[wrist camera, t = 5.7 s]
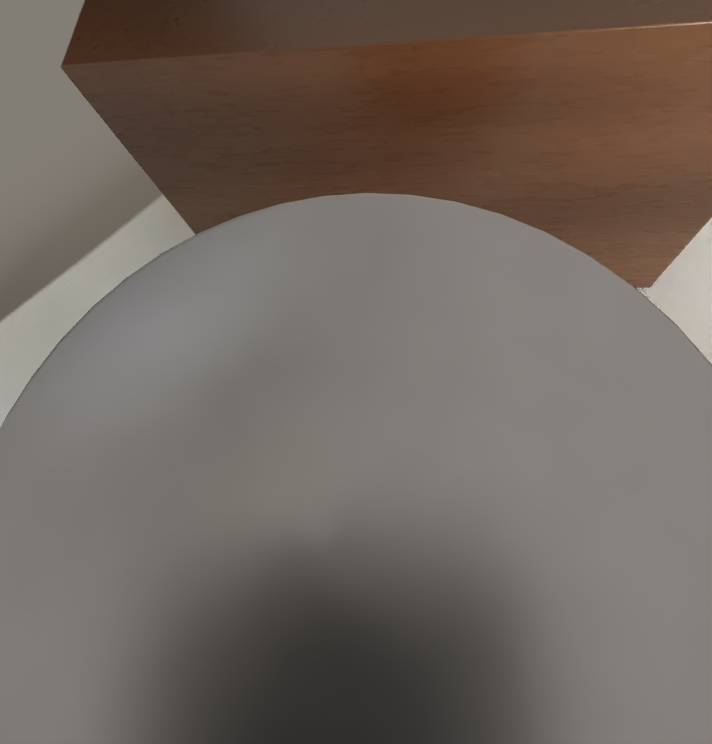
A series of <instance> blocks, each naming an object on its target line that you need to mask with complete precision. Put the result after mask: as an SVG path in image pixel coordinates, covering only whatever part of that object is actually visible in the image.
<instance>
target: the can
mask: <svg viewBox="0 0 712 744" xmlns="http://www.w3.org/2000/svg"><path fill="white" fill-rule="evenodd" d="M0 744H712V365H711V363H710V362H709V361H708V360H707V359H706V358H705V357H704V356H703V354H702V353H701V352H700V351H699V350H698V349H697V348H696V346H695V345H694V344H693V343H692V342H691V341H690V340H689V339H688V337H687V336H686V335H685V334H684V333H683V332H682V331H681V329H680V328H679V327H678V326H677V325H676V324H675V323H674V322H673V321H672V320H671V319H670V318H669V317H667V316H666V315H665V314H664V313H663V312H662V311H661V310H660V309H658V308H657V307H656V306H655V305H654V304H653V303H652V302H651V301H650V300H648V299H647V298H646V297H645V296H644V295H643V294H642V293H641V292H639V291H638V290H637V289H636V288H635V287H634V286H632V285H631V284H630V283H628V282H627V281H625V280H624V279H622V278H621V277H620V276H618V275H617V274H615V273H614V272H613V271H611V270H610V269H608V268H607V267H605V266H604V265H603V264H601V263H600V262H598V261H597V260H595V259H594V258H593V257H591V256H590V255H588V254H586V253H584V252H582V251H580V250H578V249H577V248H575V247H573V246H571V245H569V244H567V243H566V242H564V241H562V240H560V239H558V238H556V237H554V236H553V235H551V234H549V233H547V232H545V231H542V230H540V229H537V228H535V227H532V226H530V225H527V224H525V223H522V222H520V221H517V220H515V219H512V218H510V217H507V216H505V215H502V214H500V213H496V212H492V211H488V210H485V209H481V208H477V207H474V206H470V205H466V204H463V203H459V202H455V201H449V200H442V199H436V198H429V197H423V196H416V195H407V194H381V193H358V194H344V195H330V196H320V197H315V198H309V199H304V200H299V201H293V202H288V203H282V204H278V205H275V206H272V207H268V208H265V209H261V210H258V211H255V212H251V213H248V214H245V215H241V216H238V217H236V218H234V219H231V220H229V221H226V222H224V223H222V224H219V225H217V226H214V227H212V228H210V229H207V230H205V231H203V232H200V233H198V234H196V235H195V236H193V237H191V238H189V239H187V240H185V241H184V242H182V243H180V244H178V245H176V246H175V247H173V248H171V249H169V250H167V251H165V252H164V253H162V254H160V255H159V256H157V257H156V258H155V259H153V260H152V261H150V262H149V263H147V264H146V265H144V266H143V267H142V268H140V269H139V270H137V271H136V272H134V273H133V274H131V275H130V276H129V277H127V278H126V279H125V280H123V281H122V282H121V283H120V284H119V285H118V286H116V287H115V288H114V289H113V290H112V291H110V292H109V293H108V294H107V295H106V296H105V297H103V298H102V299H101V300H100V301H99V302H98V303H96V304H95V305H94V306H93V307H92V308H91V309H90V310H89V311H88V312H87V313H86V314H85V315H84V316H83V317H82V318H81V319H80V320H79V321H78V322H77V323H76V325H75V326H74V327H73V328H72V329H71V330H70V331H69V332H68V333H67V334H66V335H65V336H64V337H63V338H62V339H61V340H60V342H59V343H58V344H57V345H56V347H55V348H54V349H53V350H52V352H51V353H50V354H49V356H48V357H47V358H46V359H45V361H44V362H43V363H42V365H41V366H40V367H39V368H38V370H37V371H36V372H35V373H34V375H33V376H32V377H31V379H30V381H29V382H28V384H27V385H26V387H25V388H24V390H23V392H22V393H21V395H20V396H19V398H18V399H17V401H16V403H15V404H14V406H13V407H12V409H11V411H10V412H9V414H8V415H7V417H6V419H5V421H4V423H3V425H2V427H1V429H0Z"/></svg>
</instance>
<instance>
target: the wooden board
mask: <svg viewBox="0 0 712 744" xmlns="http://www.w3.org/2000/svg"><path fill="white" fill-rule="evenodd" d="M61 68H62V70H64V72H65V73H66V74H67V76H68V77H69V78H70V79H71V81H72V82H73V83H74V84H75V86H76V87H77V88H78V89H79V91H80V92H81V93H82V94H83V96H84V97H85V98H86V99H87V100H88V102H89V103H90V104H91V105H92V107H93V108H94V109H95V110H96V112H97V113H98V114H99V115H100V117H101V118H102V119H103V120H104V121H105V123H106V124H107V125H108V126H109V128H110V129H111V130H112V131H113V133H114V134H115V135H116V136H117V138H118V139H119V140H120V141H121V143H122V144H123V145H124V146H125V148H126V149H127V150H128V151H129V153H130V154H131V155H132V156H133V157H134V159H135V160H136V161H137V162H138V163H139V165H140V166H141V167H142V169H143V170H144V171H145V172H146V173H147V175H148V176H149V177H150V178H151V180H152V181H153V182H154V183H155V185H156V186H157V187H158V188H159V190H160V191H161V192H162V193H163V195H164V196H165V197H166V198H167V200H168V201H169V202H170V203H171V205H172V206H173V207H174V208H175V210H176V211H177V212H178V213H179V214H180V216H181V217H182V218H183V219H184V221H185V222H186V223H187V224H188V226H189V227H190V228H191V229H192V231H193V232H194V233H195V234H198V233H200V232H203V231H205V230H207V229H210V228H212V227H214V226H217V225H219V224H222V223H224V222H226V221H229V220H231V219H234V218H236V217H238V216H241V215H245V214H248V213H251V212H255V211H258V210H261V209H265V208H268V207H272V206H275V205H278V204H282V203H288V202H293V201H299V200H304V199H309V198H315V197H320V196H330V195H344V194H358V193H381V194H407V195H416V196H423V197H429V198H436V199H442V200H449V201H455V202H459V203H463V204H466V205H470V206H474V207H477V208H481V209H485V210H488V211H492V212H496V213H500V214H502V215H505V216H507V217H510V218H512V219H515V220H517V221H520V222H522V223H525V224H527V225H530V226H532V227H535V228H537V229H540V230H542V231H545V232H547V233H549V234H551V235H553V236H554V237H556V238H558V239H560V240H562V241H564V242H566V243H567V244H569V245H571V246H573V247H575V248H577V249H578V250H580V251H582V252H584V253H586V254H588V255H590V256H591V257H593V258H594V259H595V260H597V261H598V262H600V263H601V264H603V265H604V266H605V267H607V268H608V269H610V270H611V271H613V272H614V273H615V274H617V275H618V276H620V277H621V278H622V279H624V280H625V281H627V282H628V283H630V284H631V285H632V286H634V287H650V286H651V285H652V284H653V283H654V282H655V281H656V280H657V278H658V277H659V276H660V275H661V274H662V273H663V272H664V271H665V269H666V268H667V267H668V266H669V265H670V264H671V263H672V261H673V260H674V259H675V258H676V257H677V256H678V255H679V254H680V252H681V251H682V250H683V249H684V248H685V247H686V246H687V245H688V243H689V242H690V241H691V240H692V239H693V238H694V237H695V235H696V234H697V233H698V232H699V231H700V230H701V229H702V228H703V226H704V225H705V224H706V223H707V222H708V221H709V220H710V218H711V217H712V0H85V1H84V3H83V6H82V9H81V11H80V14H79V17H78V20H77V23H76V25H75V28H74V31H73V34H72V36H71V39H70V42H69V45H68V47H67V50H66V53H65V56H64V58H63V61H62V64H61Z"/></svg>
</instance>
